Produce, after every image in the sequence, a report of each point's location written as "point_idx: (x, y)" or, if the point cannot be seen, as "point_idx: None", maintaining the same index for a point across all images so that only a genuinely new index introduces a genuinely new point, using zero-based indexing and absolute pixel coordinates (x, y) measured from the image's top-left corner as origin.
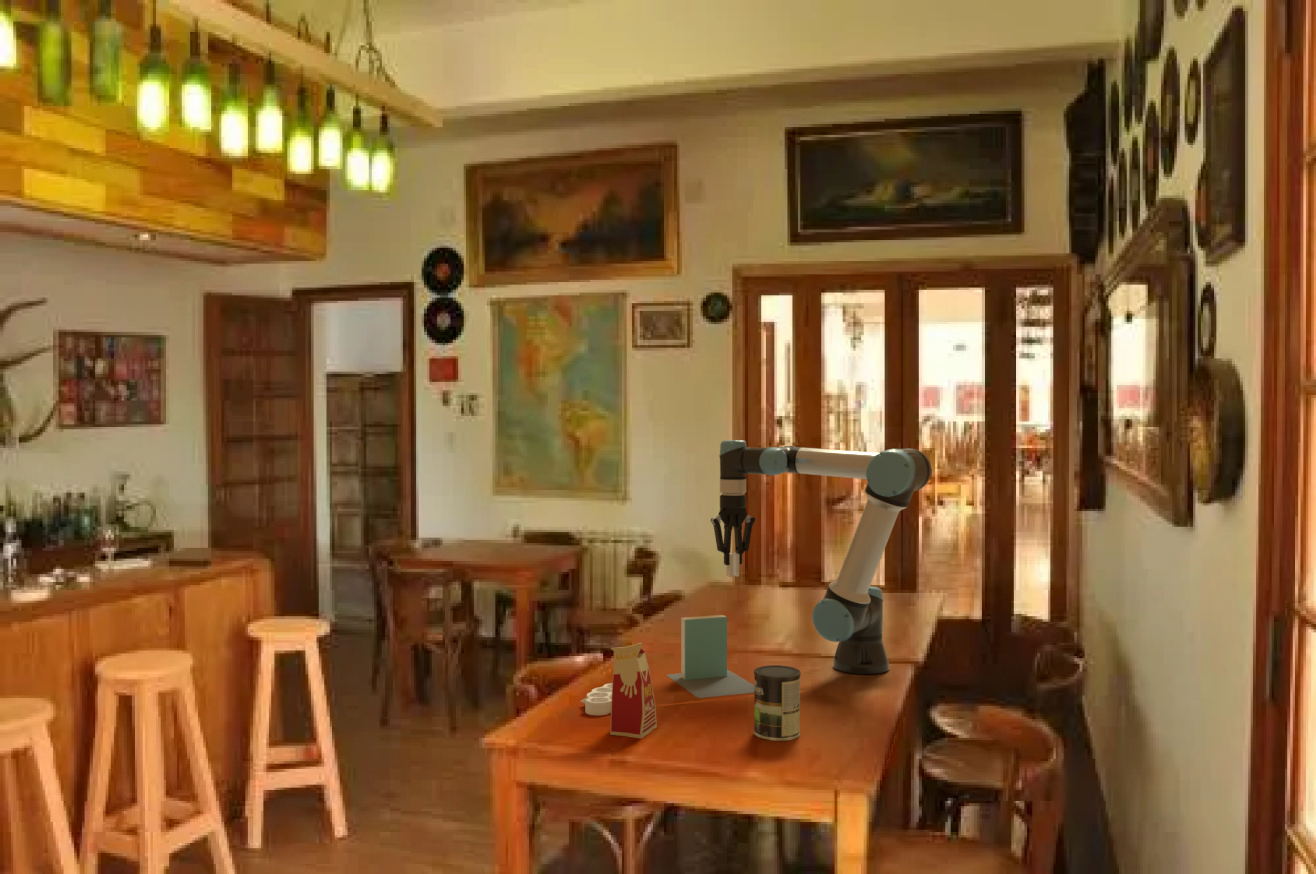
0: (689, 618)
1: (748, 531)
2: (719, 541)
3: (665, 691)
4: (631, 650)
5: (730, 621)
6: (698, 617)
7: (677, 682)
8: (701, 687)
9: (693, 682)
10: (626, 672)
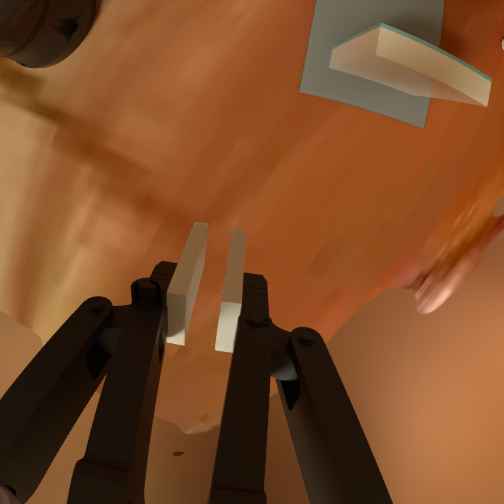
0: (477, 83)
1: (21, 413)
2: (344, 397)
3: (463, 56)
4: None
5: None
6: (454, 76)
7: None
8: (415, 21)
9: None
10: None
